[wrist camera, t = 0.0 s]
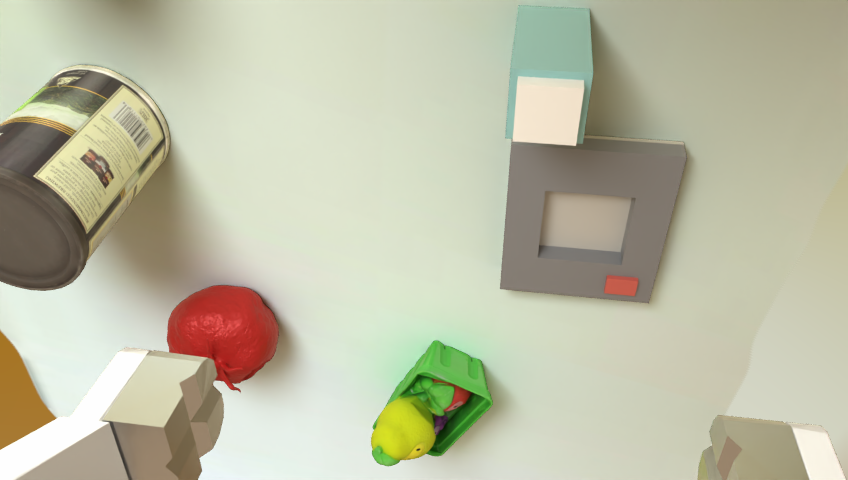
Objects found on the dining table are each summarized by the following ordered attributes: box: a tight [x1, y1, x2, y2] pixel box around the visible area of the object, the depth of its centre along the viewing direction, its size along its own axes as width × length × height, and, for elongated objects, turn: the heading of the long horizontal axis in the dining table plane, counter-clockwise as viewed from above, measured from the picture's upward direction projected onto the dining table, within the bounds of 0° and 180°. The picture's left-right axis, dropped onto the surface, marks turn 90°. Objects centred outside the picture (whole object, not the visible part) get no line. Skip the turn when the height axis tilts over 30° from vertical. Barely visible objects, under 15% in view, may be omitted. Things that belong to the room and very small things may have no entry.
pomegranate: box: [167, 285, 279, 393], centre depth 66 cm, size 10×10×9 cm
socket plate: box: [500, 135, 687, 303], centre depth 56 cm, size 14×12×2 cm
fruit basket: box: [371, 341, 493, 466], centre depth 67 cm, size 11×9×11 cm
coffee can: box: [0, 65, 170, 291], centre depth 53 cm, size 10×10×14 cm
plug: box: [505, 5, 593, 146], centre depth 44 cm, size 4×4×10 cm
